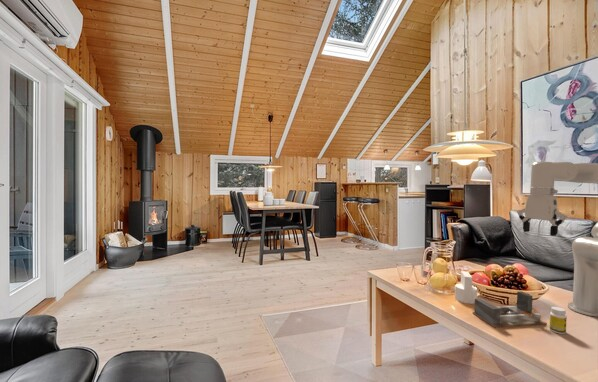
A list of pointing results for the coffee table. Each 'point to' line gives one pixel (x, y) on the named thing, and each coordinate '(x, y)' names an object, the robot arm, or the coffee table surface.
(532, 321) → the gauge base
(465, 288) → the cylinder with rectangular tab
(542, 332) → the coffee table surface
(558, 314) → the supplement bottle
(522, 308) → the l-shaped angle bracket
